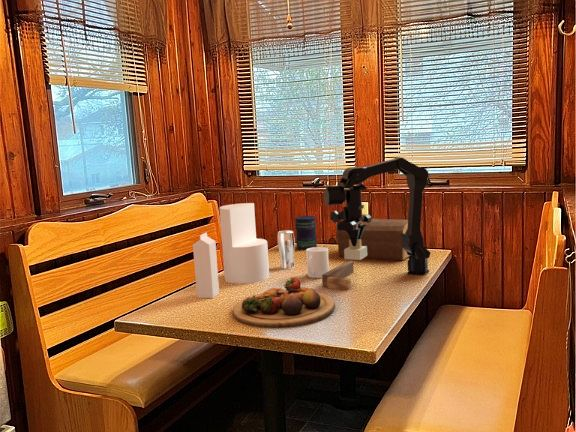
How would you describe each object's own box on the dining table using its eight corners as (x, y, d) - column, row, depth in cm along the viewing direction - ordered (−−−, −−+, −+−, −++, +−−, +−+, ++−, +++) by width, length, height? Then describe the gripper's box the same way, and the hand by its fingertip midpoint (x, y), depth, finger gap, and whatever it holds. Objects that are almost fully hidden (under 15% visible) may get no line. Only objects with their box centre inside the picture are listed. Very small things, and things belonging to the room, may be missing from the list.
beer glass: (276, 269, 229) (274, 233, 227) (283, 265, 236) (281, 229, 234) (292, 270, 227) (290, 233, 225) (298, 265, 233) (296, 230, 231)
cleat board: (373, 274, 213) (372, 262, 212) (348, 289, 194) (347, 277, 194) (348, 272, 218) (348, 261, 218) (322, 287, 200) (322, 274, 199)
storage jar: (317, 249, 262) (316, 218, 260) (296, 251, 262) (295, 219, 260) (316, 245, 272) (315, 215, 270) (296, 246, 272) (294, 216, 270)
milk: (197, 298, 195) (191, 235, 192) (203, 292, 201) (198, 232, 198) (213, 298, 194) (208, 235, 190) (219, 293, 199) (214, 231, 196)
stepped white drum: (215, 281, 215) (210, 209, 211) (240, 270, 230) (235, 202, 226) (254, 285, 207) (249, 209, 203) (277, 273, 222) (273, 203, 218)
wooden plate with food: (269, 292, 198) (267, 269, 197) (352, 301, 181) (350, 276, 180) (212, 323, 171) (209, 296, 170) (303, 336, 155) (301, 307, 153)
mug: (318, 281, 207) (317, 254, 206) (299, 279, 211) (297, 252, 210) (332, 273, 217) (331, 247, 216) (313, 272, 222) (312, 246, 220)
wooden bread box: (352, 249, 261) (351, 214, 258) (416, 252, 246) (415, 216, 244) (336, 257, 245) (334, 221, 243) (403, 262, 230) (402, 223, 228)
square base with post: (367, 255, 206) (366, 238, 205) (360, 259, 200) (359, 242, 199) (352, 254, 209) (351, 237, 208) (344, 259, 203) (343, 241, 202)
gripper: (343, 199, 214) (345, 239, 216) (322, 206, 198) (324, 249, 200) (371, 199, 208) (372, 241, 211) (351, 206, 192) (353, 251, 195)
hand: (355, 245), depth 204 cm, fingers closed on square base with post
